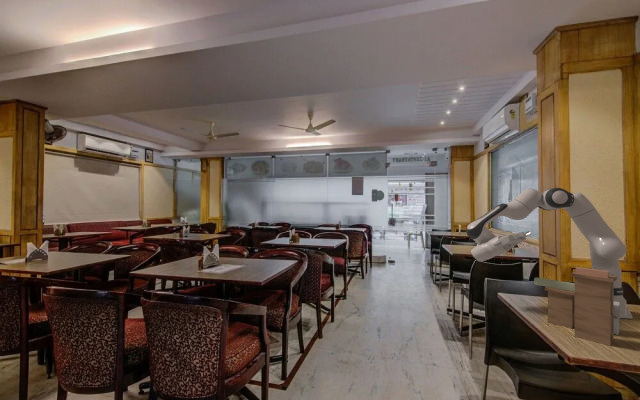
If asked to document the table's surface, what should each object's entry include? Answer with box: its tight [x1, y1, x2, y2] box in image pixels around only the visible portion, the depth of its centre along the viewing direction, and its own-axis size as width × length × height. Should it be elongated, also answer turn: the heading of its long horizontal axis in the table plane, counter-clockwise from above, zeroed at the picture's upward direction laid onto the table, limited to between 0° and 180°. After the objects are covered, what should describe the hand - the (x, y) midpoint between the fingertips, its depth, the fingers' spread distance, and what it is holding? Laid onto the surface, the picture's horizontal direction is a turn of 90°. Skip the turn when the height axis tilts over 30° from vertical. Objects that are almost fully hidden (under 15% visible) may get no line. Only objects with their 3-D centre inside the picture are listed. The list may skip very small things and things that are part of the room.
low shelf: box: [544, 286, 575, 329], centre depth 147 cm, size 9×11×16 cm
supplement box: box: [614, 301, 621, 336], centre depth 139 cm, size 7×7×13 cm
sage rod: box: [533, 277, 575, 292], centre depth 147 cm, size 3×21×3 cm, turn 39°
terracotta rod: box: [575, 266, 609, 278], centre depth 129 cm, size 2×10×2 cm, turn 39°
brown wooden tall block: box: [570, 270, 617, 347], centre depth 130 cm, size 9×13×26 cm
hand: (527, 233), depth 158 cm, fingers open, 8 cm apart
